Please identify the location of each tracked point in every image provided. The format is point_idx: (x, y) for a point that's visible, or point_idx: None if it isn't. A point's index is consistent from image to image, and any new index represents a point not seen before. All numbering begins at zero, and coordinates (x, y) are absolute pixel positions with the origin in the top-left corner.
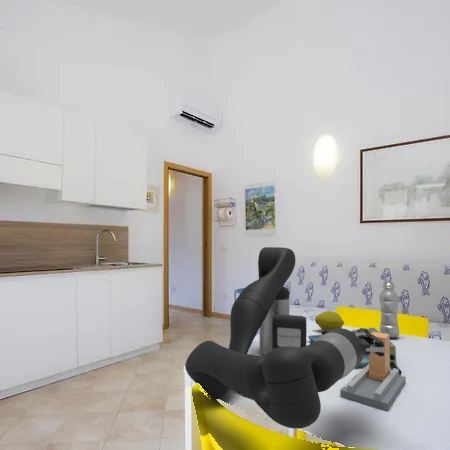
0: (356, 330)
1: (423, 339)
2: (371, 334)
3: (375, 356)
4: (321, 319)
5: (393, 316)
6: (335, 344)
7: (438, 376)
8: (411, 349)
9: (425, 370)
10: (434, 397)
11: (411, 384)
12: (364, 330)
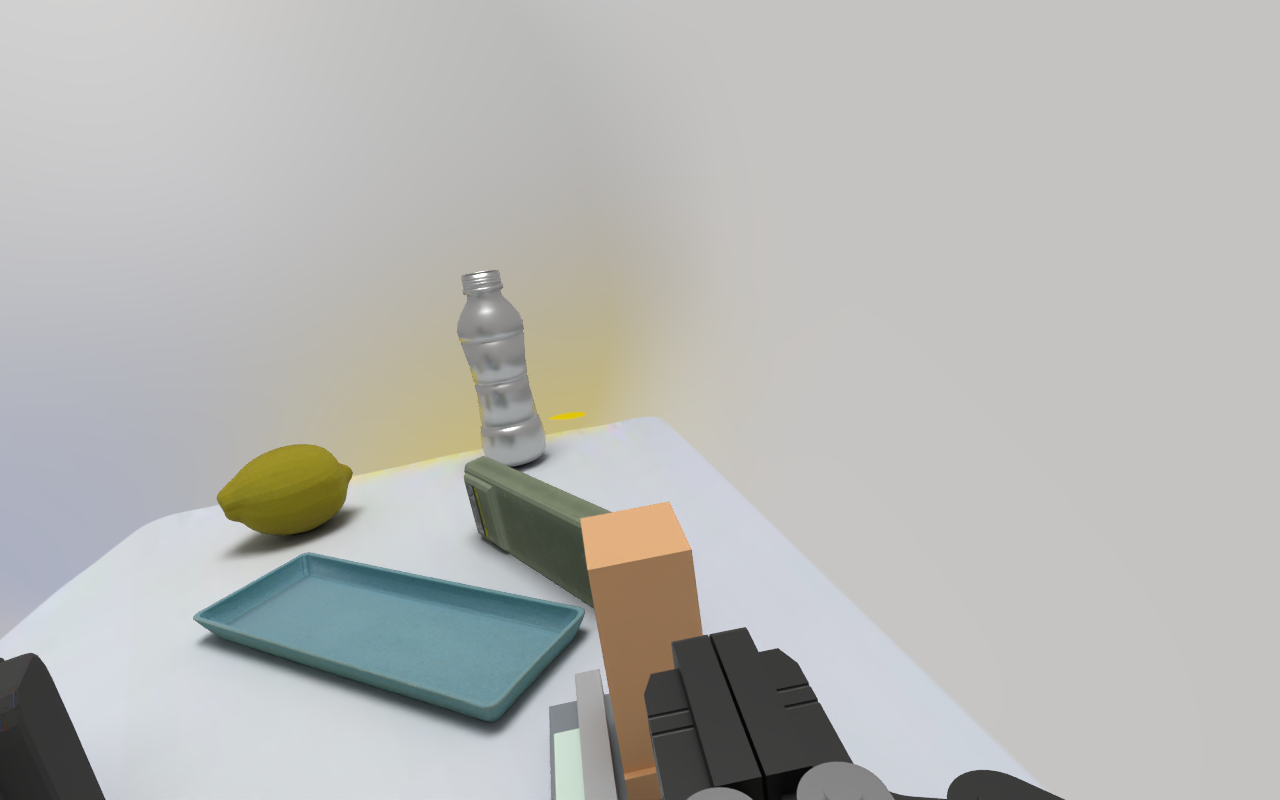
0: (657, 719)
1: (607, 430)
2: (1012, 795)
3: (648, 676)
4: (249, 497)
5: (520, 388)
6: None
7: (788, 567)
8: (611, 482)
9: (730, 559)
10: (919, 719)
11: None
12: (766, 690)
